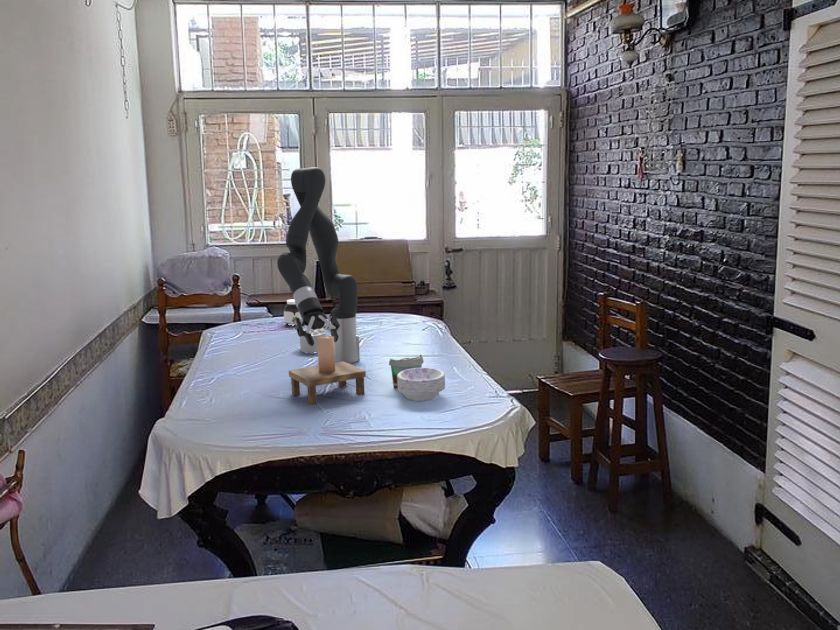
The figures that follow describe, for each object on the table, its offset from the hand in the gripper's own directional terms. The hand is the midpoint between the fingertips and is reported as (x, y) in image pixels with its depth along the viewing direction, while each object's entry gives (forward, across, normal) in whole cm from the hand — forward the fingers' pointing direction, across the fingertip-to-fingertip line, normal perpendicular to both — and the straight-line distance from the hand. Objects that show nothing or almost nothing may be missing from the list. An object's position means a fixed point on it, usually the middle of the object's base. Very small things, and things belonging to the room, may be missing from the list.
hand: (324, 342), depth 264 cm
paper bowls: (+29, +22, -4) cm, 36 cm away
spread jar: (-67, +40, +94) cm, 122 cm away
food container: (+20, +25, +4) cm, 33 cm away
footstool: (+13, -1, +11) cm, 17 cm away
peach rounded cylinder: (+8, -1, +5) cm, 9 cm away
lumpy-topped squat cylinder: (-30, +23, +55) cm, 66 cm away
